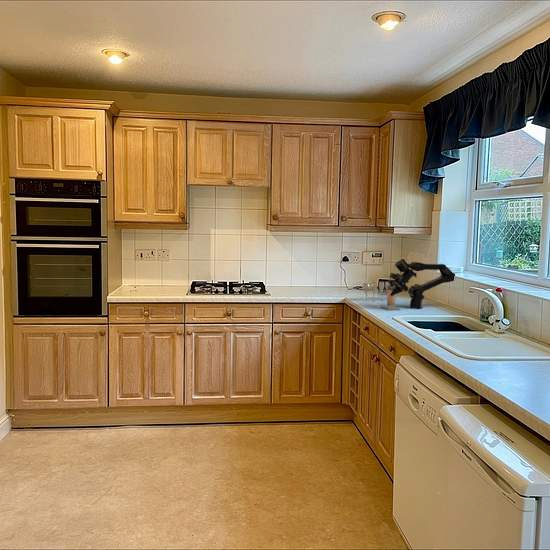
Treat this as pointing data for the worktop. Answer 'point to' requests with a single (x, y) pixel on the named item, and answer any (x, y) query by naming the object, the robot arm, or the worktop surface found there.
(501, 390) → the worktop surface
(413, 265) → the robot arm
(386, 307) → the slate board
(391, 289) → the spice jar
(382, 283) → the goblet set
